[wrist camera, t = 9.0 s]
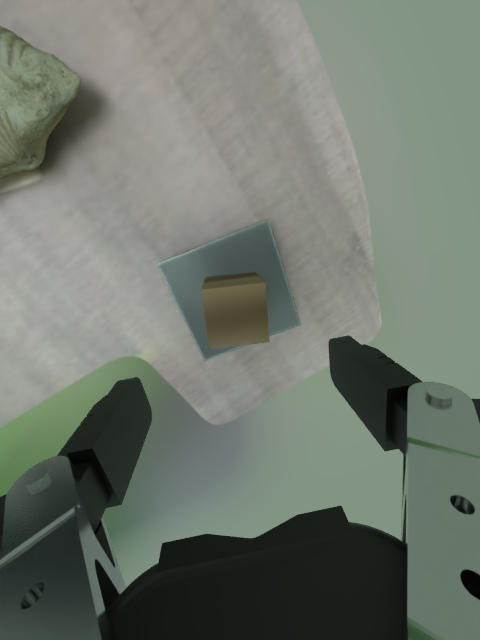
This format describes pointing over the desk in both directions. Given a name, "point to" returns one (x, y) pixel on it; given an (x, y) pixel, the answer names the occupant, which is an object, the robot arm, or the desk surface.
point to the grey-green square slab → (226, 259)
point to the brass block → (235, 310)
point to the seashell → (29, 101)
